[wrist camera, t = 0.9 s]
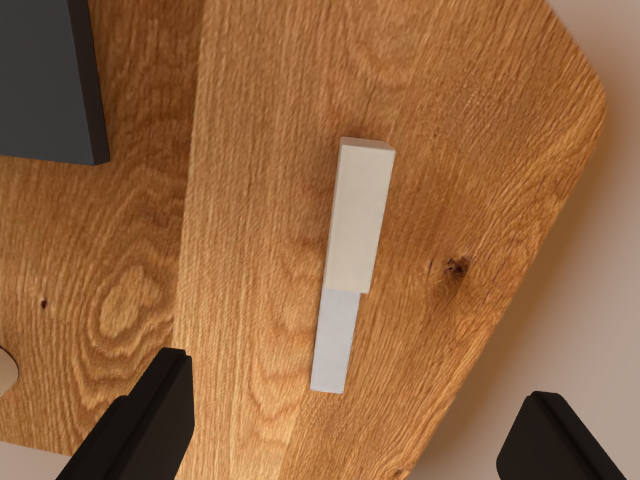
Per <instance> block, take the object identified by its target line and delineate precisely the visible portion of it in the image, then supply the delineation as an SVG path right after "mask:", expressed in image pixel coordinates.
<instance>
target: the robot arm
mask: <svg viewBox="0 0 640 480" xmlns="http://www.w3.org/2000/svg"><path fill="white" fill-rule="evenodd" d="M194 426H195V419H194V397H193V375H192V358H191V356H187V355H186V351H185V350H183V349H175V348H166V347H163V348H161V350H160V351H159V352H158V354H157V355H156V356H155V358H154V359H153V361H152V362H151V363H150V365H149V366H148V368H147V369H146V371H145V372H144V373H143V375H142V376H141V378H140V379H139V381H138V382H137V383H136V385H135V386H134V388H133V389H132V391H131V392H130V393H129V395H128V396H126V395H122V396H119V397H118V398H116V399H115V400H114V401H113V403H112V404H111V405H110V406H109V408H108V409H107V410H106V412H105V413H104V414H103V416H102V417H101V418H100V420H99V421H98V423H97V424H96V425H95V427H94V428H93V429H92V431H91V432H90V433H89V435H88V436H87V437H86V439H85V440H84V442H83V443H82V444H81V446H80V447H79V448H78V450H77V451H76V452H75V454H74V455H73V456H72V458H71V459H70V461H69V462H68V463H67V465H66V466H65V467H64V469H63V470H62V471H61V473H60V474H59V475H58V477H57V478H56V479H55V480H174V478H175V476H176V473H177V471H178V469H179V466H180V464H181V462H182V459H183V457H184V455H185V452H186V450H187V448H188V445H189V443H190V440H191V438H192V435H193V431H194ZM496 467H497V472H498V475H499V477H500V479H501V480H627V479H626V478H625V477H624V476H623V474H622V473H621V472H620V470H619V469H618V468H617V466H616V465H615V464H614V462H613V461H612V460H611V459H610V457H609V456H608V455H607V453H606V452H605V451H604V450H603V448H602V447H601V446H600V444H599V443H598V442H597V441H596V439H595V438H594V437H593V435H592V434H591V433H590V431H589V430H588V429H587V428H586V426H585V425H584V424H583V422H582V421H581V420H580V418H579V417H578V416H577V415H576V413H575V412H574V411H573V410H572V408H571V407H570V406H569V404H568V403H567V402H566V400H565V399H564V398H563V397H562V396H561V395H559V394H558V393H550V392H541V391H534V392H532V394H531V395H530V396H527V397H526V398H525V400H524V402H523V404H522V407H521V409H520V411H519V413H518V415H517V417H516V419H515V421H514V423H513V425H512V428H511V430H510V432H509V434H508V436H507V438H506V440H505V442H504V445H503V447H502V449H501V451H500V453H499V455H498V457H497V461H496Z"/></svg>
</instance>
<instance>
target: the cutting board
mask: <svg viewBox="0 0 640 480" xmlns="http://www.w3.org/2000/svg"><path fill="white" fill-rule="evenodd" d="M0 155H4V156H13V157H21V158H30V159H39V160H47V161H56V162H65V163H74V164H82V165H91V166H95V165H98V164H102V163H106V162H109V161H110V157H109V150H108V143H107V136H106V129H105V122H104V115H103V109H102V102H101V95H100V88H99V81H98V74H97V67H96V60H95V53H94V46H93V39H92V32H91V25H90V19H89V12H88V5H87V0H0Z"/></svg>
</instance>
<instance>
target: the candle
mask: <svg viewBox="0 0 640 480" xmlns="http://www.w3.org/2000/svg"><path fill="white" fill-rule="evenodd" d="M17 379H18V368H17V366H16V364H15V362H14V360H13V359H12V358H11V357H10V355H9V354H8V353H6V352H5V351H4V350H3V349H1V348H0V397H1V396H2V395H3V394H4V393H5V392H6V391H8V390H9V389H10V388H11V387H12V386H13V385H14V383H15V382H16V381H17Z"/></svg>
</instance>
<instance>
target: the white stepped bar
mask: <svg viewBox="0 0 640 480" xmlns="http://www.w3.org/2000/svg"><path fill="white" fill-rule="evenodd" d="M394 157H395V150H394V149H393V148H392V147H391V146H390V145H389V144H388V143H387V142H385V141H379V140H371V139H362V138H353V137H344V136H342V137H341V139H340V147H339V155H338V163H337V171H336V179H335V187H334V195H333V203H332V212H331V220H330V228H329V236H328V244H327V252H326V260H325V268H324V276H323V284H322V292H321V300H320V308H319V317H318V325H317V333H316V341H315V349H314V357H313V365H312V373H311V381H310V390H314V391H322V392H331V393H339V394H343V390H344V384H345V378H346V373H347V367H348V362H349V356H350V350H351V345H352V339H353V334H354V328H355V322H356V317H357V311H358V306H359V300H360V294H361V293H369V289H370V284H371V279H372V273H373V268H374V263H375V257H376V252H377V247H378V242H379V236H380V231H381V226H382V221H383V215H384V210H385V205H386V199H387V194H388V189H389V184H390V178H391V173H392V168H393V163H394Z"/></svg>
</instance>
